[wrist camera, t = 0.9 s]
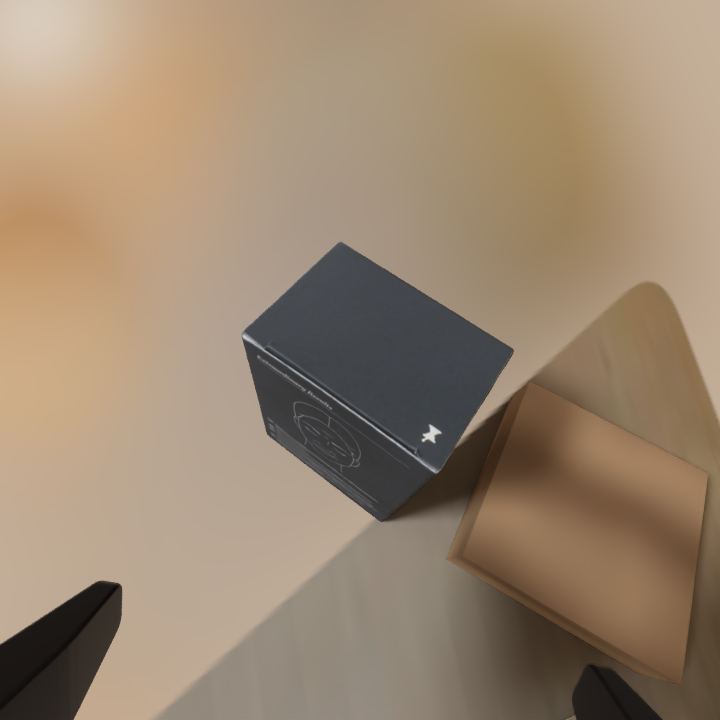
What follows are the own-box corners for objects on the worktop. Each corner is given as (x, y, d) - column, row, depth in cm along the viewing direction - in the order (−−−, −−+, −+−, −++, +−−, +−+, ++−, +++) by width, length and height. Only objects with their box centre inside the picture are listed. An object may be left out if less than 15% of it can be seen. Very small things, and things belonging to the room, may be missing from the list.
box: (437, 439, 24) (521, 348, 15) (381, 525, 22) (439, 481, 12) (326, 360, 26) (340, 233, 16) (262, 433, 23) (234, 332, 14)
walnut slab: (639, 674, 20) (681, 685, 18) (445, 559, 21) (462, 556, 19) (671, 483, 25) (708, 473, 22) (510, 398, 26) (529, 381, 24)
